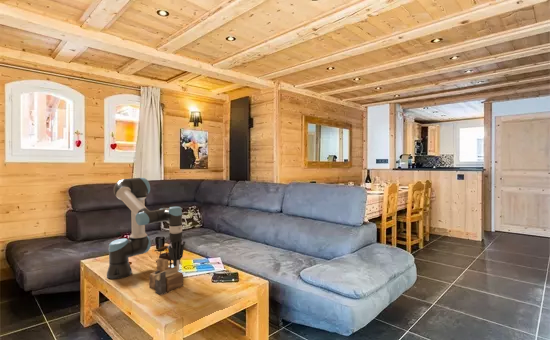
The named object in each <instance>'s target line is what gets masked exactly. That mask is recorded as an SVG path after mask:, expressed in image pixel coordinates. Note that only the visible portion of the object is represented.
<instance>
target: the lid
mask: <svg viewBox="0 0 550 340" xmlns="http://www.w3.org/2000/svg"><path fill="white" fill-rule="evenodd" d="M156 260H157V263H156V271H159V270H160V272H163V271H165V270H168V269H169V267H170V266H169V261H168V260H167V259H162V258H159V257H158V258H157V259H156ZM156 271H153V272H152V273H149V276H152V277H155V272H156ZM183 273H184V272H182V271H178V273H176V274H173V275H171V276H169V277H166V280H167V281H169V280H171V279H174V278H176V277H178V276H181V275H183V276H184V274H183Z"/></svg>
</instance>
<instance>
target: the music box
mask: <svg viewBox="0 0 550 340" xmlns="http://www.w3.org/2000/svg"><path fill="white" fill-rule="evenodd" d="M167 246H168V245H165V246H161V247H159V248H157V249H155V250H154V251H153V252H157V253H158V252H159V255H158V259H159V258H162V259H167V260H168V262H169V266H168V267H169V269H170V268H173V267H172V265H174V264H173V262H172V260H170V255H169V251H168V248H167ZM164 251H165V252H164ZM155 263H156V264H157V259H156V260H155Z"/></svg>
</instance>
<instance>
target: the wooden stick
mask: <svg viewBox="0 0 550 340" xmlns="http://www.w3.org/2000/svg"><path fill="white" fill-rule="evenodd" d="M163 272H166V277H169V276H171V275H173V274H176V273H178V272H179V271H178V268H176V267H174V266H173V267H172V268H170V269H168V270H165V271H163ZM160 273H162V272H160ZM160 273H157V274H155V280H158V281H159V280H160Z"/></svg>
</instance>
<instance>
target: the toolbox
mask: <svg viewBox="0 0 550 340" xmlns="http://www.w3.org/2000/svg"><path fill="white" fill-rule="evenodd" d="M154 272H155V274H157V273H160V270H159V271H157V270H156V271H154ZM148 278H149V279H148V281H149V282H148V283H149V284H148V285H149V289H152V290H155V292H154V293H155V294H158V295H160V296H164V295H165V294H169V293H171V292H173V291H176V290H178V289H179V288H181V287H184V274H183V275H181V276H178V277H176V278H174V279H171V280H169V281H167V280H166V272H162V273H160V280H159V281H158V280H155V277H152V276H150V275H149V276H148Z"/></svg>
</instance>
